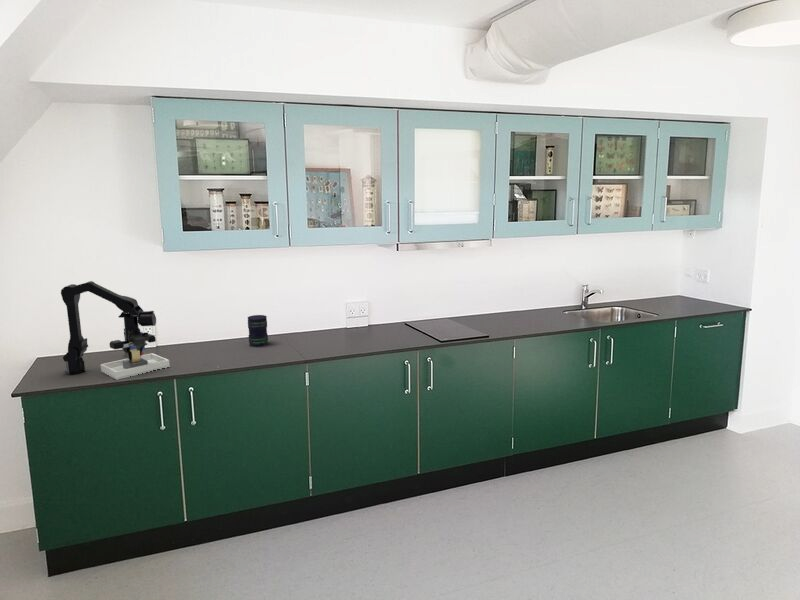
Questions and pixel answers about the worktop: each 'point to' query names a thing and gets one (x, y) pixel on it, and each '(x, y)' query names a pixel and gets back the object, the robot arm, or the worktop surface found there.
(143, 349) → the ink cartridge box
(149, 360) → the walled box
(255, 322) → the storage jar
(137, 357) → the peg
